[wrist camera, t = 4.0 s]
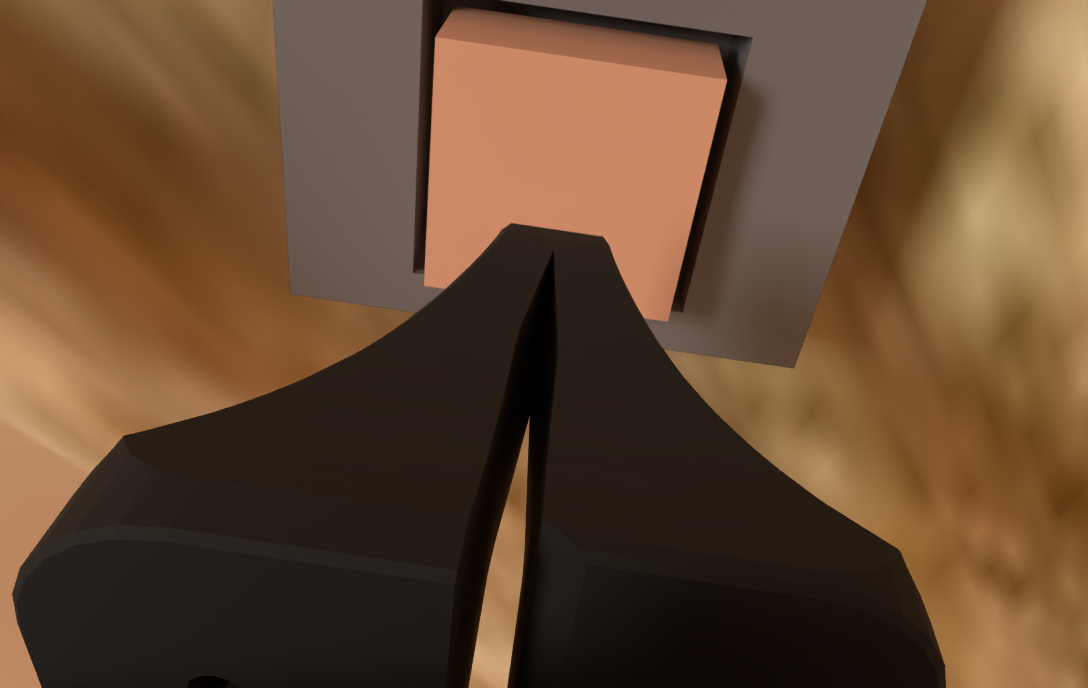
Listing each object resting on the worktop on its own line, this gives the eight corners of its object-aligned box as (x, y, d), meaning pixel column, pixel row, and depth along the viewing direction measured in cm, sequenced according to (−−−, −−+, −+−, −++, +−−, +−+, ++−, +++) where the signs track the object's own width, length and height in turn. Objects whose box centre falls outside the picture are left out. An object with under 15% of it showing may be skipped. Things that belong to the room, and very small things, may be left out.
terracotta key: (442, 237, 17) (424, 285, 16) (455, 5, 14) (435, 36, 13) (664, 270, 17) (667, 321, 16) (717, 44, 14) (727, 79, 13)
